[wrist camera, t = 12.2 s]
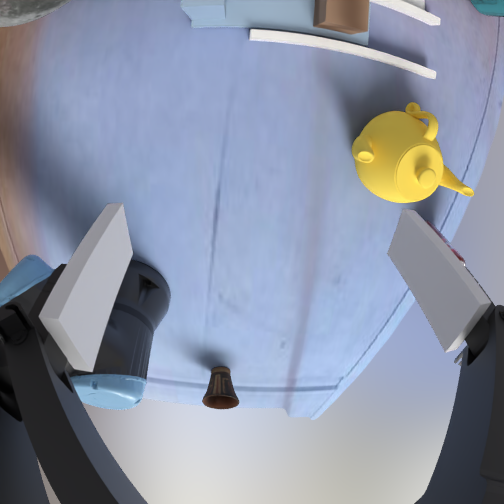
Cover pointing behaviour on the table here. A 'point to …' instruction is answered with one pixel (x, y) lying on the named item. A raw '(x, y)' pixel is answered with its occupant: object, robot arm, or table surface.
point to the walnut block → (342, 15)
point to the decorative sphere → (26, 10)
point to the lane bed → (408, 3)
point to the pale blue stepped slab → (264, 17)
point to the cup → (220, 390)
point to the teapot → (403, 157)
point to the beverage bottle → (489, 7)
